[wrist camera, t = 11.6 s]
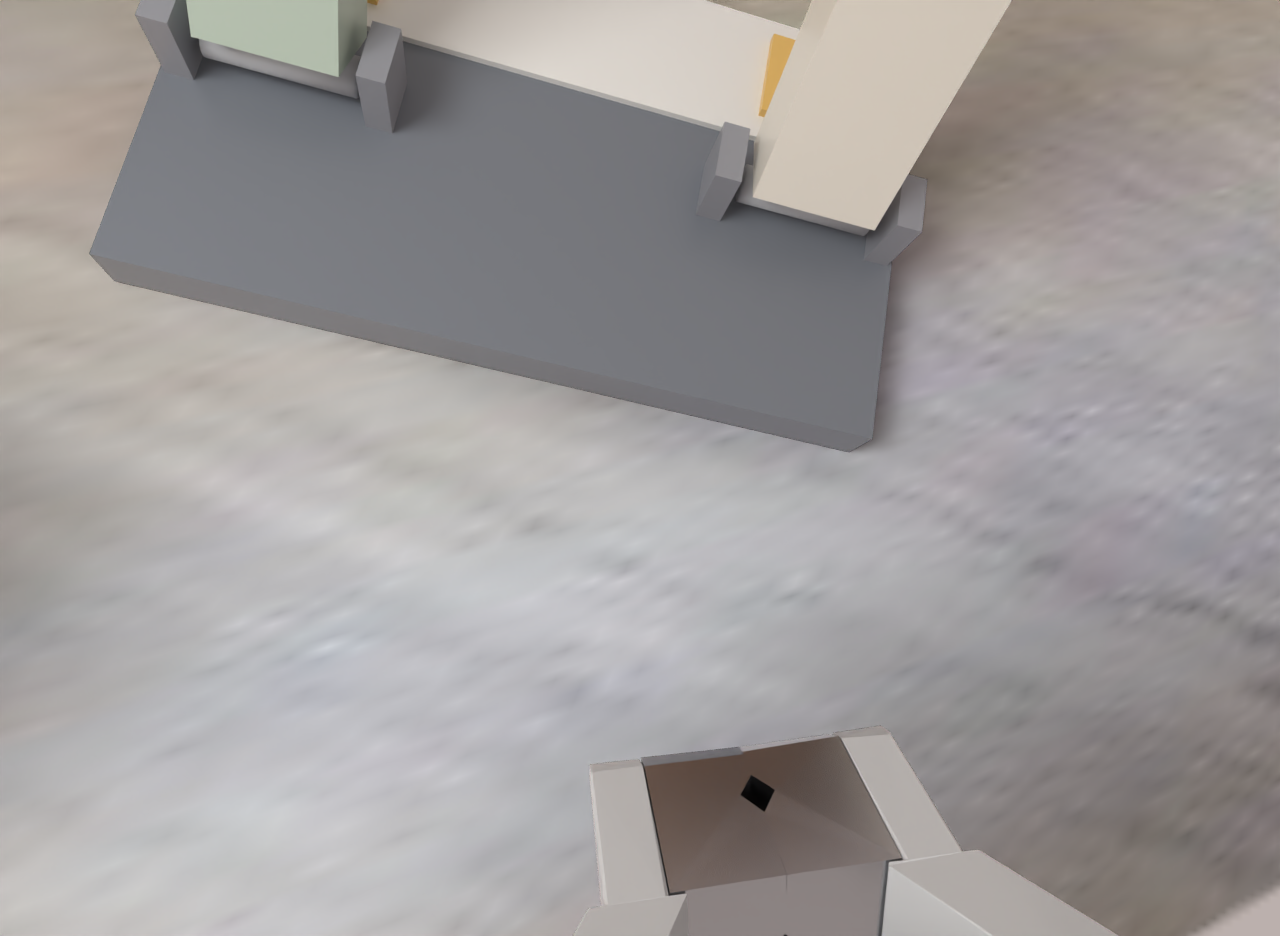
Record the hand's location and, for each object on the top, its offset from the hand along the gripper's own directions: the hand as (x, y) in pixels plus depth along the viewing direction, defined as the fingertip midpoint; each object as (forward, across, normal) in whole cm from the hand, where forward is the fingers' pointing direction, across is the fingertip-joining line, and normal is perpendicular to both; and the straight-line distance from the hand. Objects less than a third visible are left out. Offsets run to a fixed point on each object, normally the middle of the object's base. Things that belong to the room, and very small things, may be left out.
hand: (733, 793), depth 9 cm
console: (+19, +1, -5) cm, 20 cm away
